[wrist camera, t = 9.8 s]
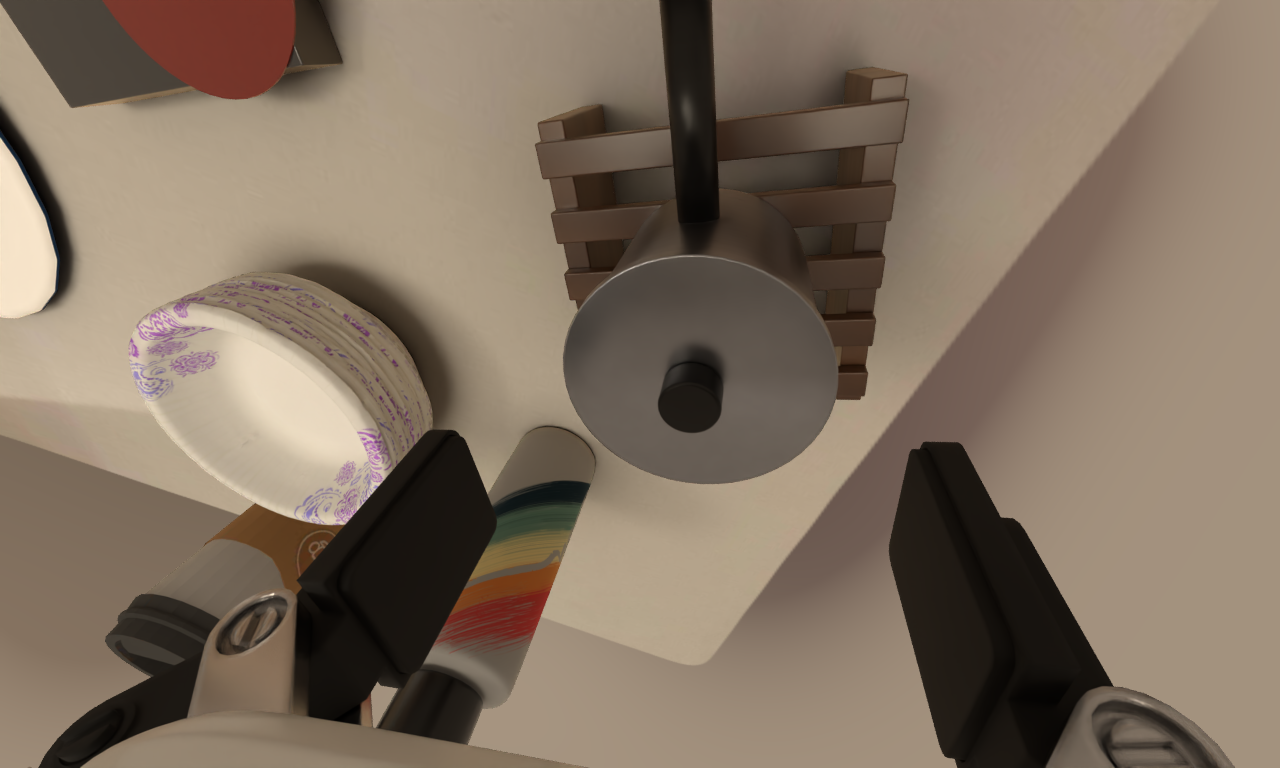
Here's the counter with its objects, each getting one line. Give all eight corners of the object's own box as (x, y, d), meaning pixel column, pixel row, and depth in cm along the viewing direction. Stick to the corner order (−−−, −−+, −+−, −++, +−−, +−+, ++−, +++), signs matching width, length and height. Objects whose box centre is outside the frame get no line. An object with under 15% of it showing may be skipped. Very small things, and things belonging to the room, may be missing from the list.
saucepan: (634, 361, 22) (579, 502, 15) (578, 3, 15) (430, -31, 8) (806, 360, 20) (830, 518, 13) (834, -46, 13) (913, -138, 6)
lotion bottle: (589, 494, 36) (454, 855, 20) (516, 470, 36) (323, 811, 20) (604, 440, 33) (457, 823, 17) (524, 414, 33) (300, 769, 17)
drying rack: (580, 106, 22) (529, 124, 17) (873, 66, 19) (913, 74, 14) (621, 343, 28) (592, 405, 23) (843, 339, 25) (863, 408, 21)
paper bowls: (236, 204, 28) (82, 252, 22) (481, 324, 29) (404, 403, 23) (252, 389, 37) (146, 461, 31) (439, 474, 38) (375, 560, 32)
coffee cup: (389, 529, 44) (251, 712, 32) (307, 512, 45) (143, 682, 33) (364, 463, 39) (189, 648, 27) (273, 445, 41) (66, 616, 28)
